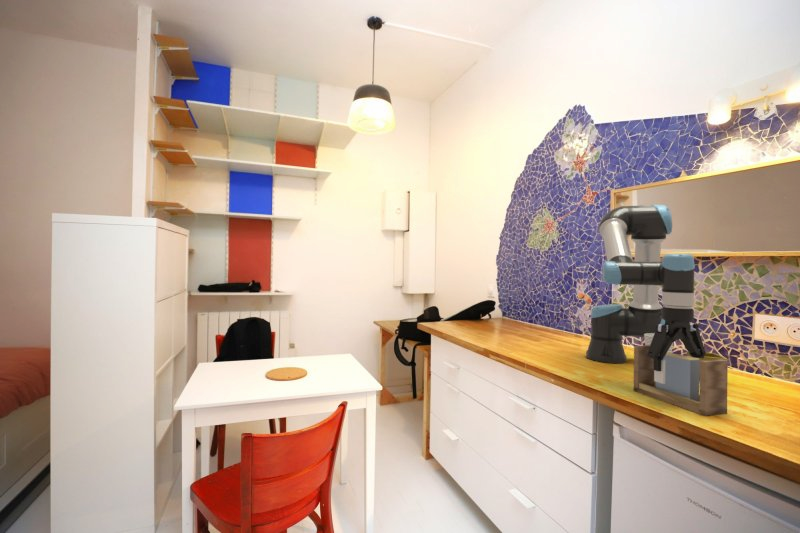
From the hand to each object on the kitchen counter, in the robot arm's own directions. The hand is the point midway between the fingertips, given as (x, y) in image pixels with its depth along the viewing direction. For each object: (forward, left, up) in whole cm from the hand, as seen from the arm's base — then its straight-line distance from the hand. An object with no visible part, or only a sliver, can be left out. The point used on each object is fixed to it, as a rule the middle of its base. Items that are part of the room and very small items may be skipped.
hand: (676, 380), depth 108 cm
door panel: (0, 0, -5) cm, 5 cm away
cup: (-15, -18, -6) cm, 24 cm away
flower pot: (-32, -14, -6) cm, 35 cm away
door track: (0, 0, -6) cm, 6 cm away
